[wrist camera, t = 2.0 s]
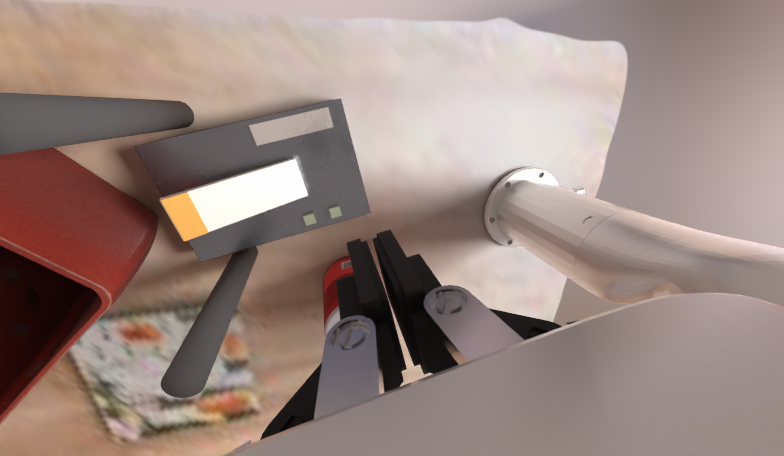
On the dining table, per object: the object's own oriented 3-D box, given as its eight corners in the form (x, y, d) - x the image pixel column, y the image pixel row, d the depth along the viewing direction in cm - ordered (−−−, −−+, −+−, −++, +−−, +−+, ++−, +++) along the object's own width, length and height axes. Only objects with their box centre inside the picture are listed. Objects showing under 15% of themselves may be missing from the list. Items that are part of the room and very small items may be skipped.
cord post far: (253, 240, 37) (193, 363, 19) (261, 257, 38) (212, 389, 20) (232, 246, 37) (152, 377, 19) (241, 263, 38) (173, 402, 20)
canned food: (311, 280, 41) (309, 335, 32) (352, 243, 41) (363, 287, 31) (348, 309, 45) (357, 366, 35) (387, 275, 44) (407, 323, 34)
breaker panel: (338, 99, 33) (342, 97, 28) (365, 203, 39) (373, 218, 34) (155, 141, 31) (122, 148, 26) (212, 246, 36) (194, 269, 31)
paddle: (292, 158, 31) (296, 159, 29) (304, 193, 32) (308, 195, 31) (160, 197, 25) (159, 200, 24) (183, 237, 27) (183, 242, 26)
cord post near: (186, 98, 30) (-6, 85, 12) (198, 124, 31) (38, 147, 13) (160, 104, 30) (-78, 98, 12) (173, 130, 31) (-26, 161, 13)
